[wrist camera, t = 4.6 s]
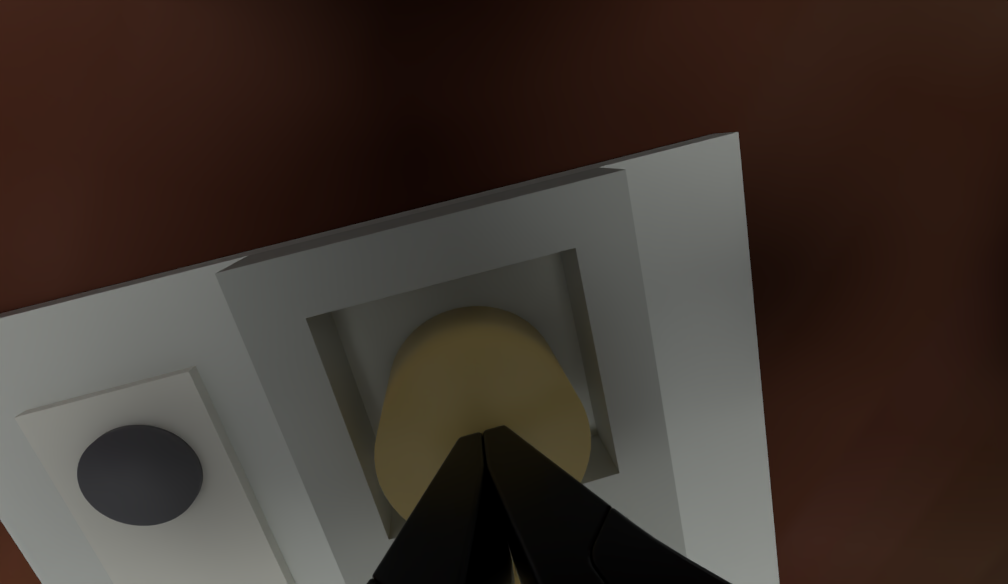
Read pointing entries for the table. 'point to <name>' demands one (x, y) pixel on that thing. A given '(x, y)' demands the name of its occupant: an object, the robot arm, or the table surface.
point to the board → (365, 373)
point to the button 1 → (473, 398)
